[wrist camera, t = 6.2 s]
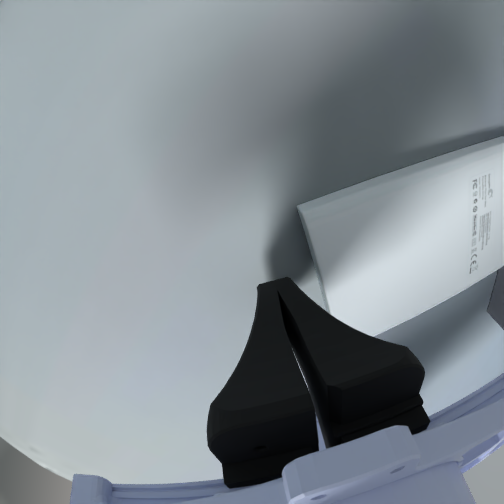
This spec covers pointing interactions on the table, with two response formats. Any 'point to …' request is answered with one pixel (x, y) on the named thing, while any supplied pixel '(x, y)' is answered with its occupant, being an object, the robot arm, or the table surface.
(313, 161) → the table surface
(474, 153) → the external hard drive
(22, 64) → the table surface
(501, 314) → the charging dock
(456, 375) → the table surface
